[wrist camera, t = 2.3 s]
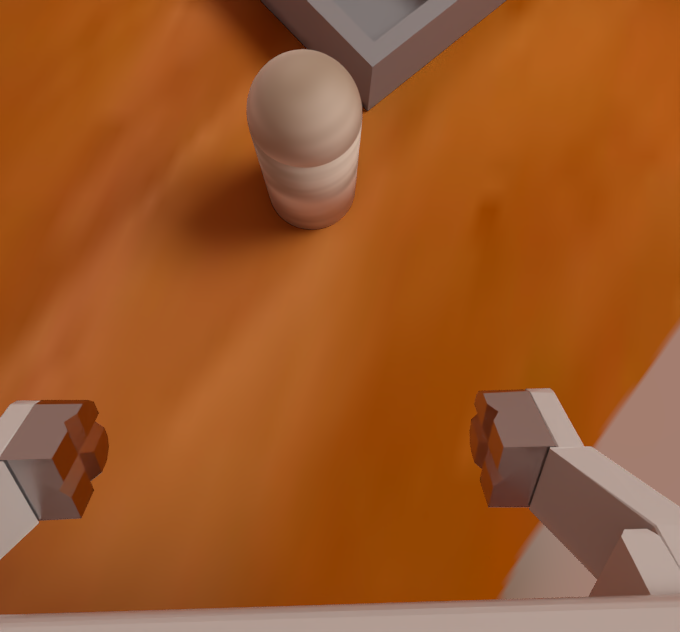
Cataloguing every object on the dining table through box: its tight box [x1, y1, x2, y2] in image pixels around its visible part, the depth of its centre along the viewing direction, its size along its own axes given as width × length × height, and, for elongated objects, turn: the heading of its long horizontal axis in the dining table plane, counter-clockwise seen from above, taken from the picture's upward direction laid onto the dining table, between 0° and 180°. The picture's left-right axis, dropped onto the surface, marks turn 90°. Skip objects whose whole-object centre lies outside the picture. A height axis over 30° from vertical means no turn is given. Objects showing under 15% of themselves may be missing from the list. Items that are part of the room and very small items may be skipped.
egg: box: [247, 49, 362, 229], centre depth 23 cm, size 5×5×10 cm
